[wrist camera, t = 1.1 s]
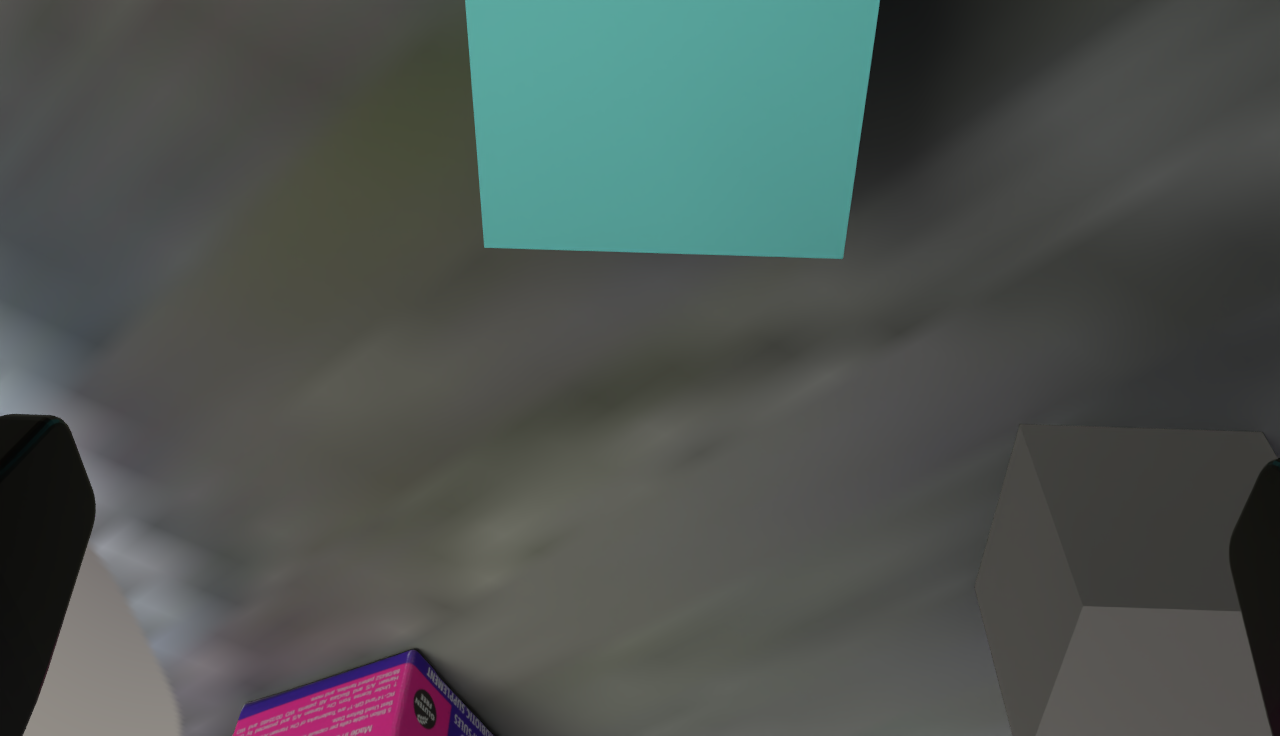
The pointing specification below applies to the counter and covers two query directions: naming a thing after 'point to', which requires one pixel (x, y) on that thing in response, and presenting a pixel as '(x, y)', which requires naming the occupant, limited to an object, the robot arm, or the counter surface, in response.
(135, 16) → the counter surface
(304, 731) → the supplement box
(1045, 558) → the charcoal cube
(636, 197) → the teal cube
